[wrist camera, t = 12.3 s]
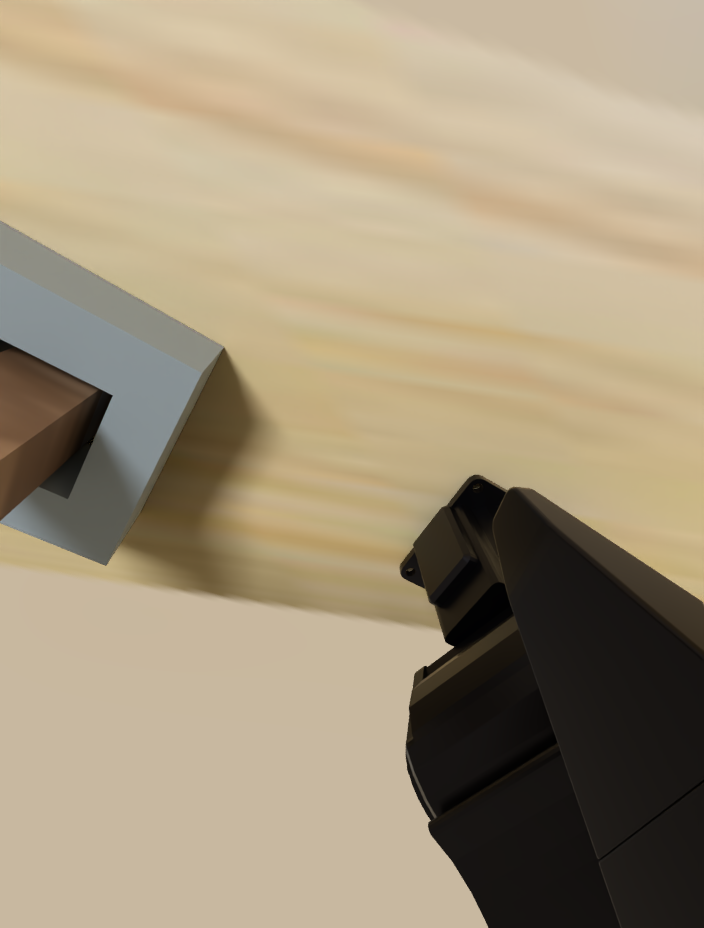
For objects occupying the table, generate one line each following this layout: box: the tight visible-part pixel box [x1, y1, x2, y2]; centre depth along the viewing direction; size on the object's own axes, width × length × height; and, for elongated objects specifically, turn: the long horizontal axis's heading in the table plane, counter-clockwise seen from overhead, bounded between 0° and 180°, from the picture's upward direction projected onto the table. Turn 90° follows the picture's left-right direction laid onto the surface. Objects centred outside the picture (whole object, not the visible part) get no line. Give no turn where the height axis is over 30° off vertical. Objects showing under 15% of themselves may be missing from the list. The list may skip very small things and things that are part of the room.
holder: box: [0, 221, 224, 566], centre depth 18 cm, size 9×9×4 cm
